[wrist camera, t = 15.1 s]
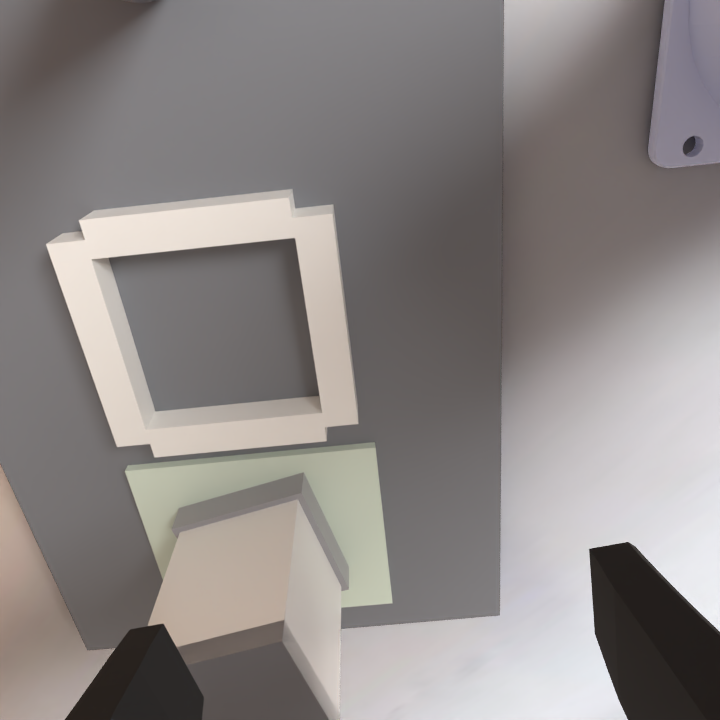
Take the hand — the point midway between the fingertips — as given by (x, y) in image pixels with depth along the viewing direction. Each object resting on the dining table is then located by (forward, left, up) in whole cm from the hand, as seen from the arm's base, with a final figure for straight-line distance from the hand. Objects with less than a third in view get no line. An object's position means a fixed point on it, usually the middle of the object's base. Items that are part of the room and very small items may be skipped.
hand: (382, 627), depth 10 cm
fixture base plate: (+4, -2, -10) cm, 11 cm away
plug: (+4, +6, -9) cm, 11 cm away
